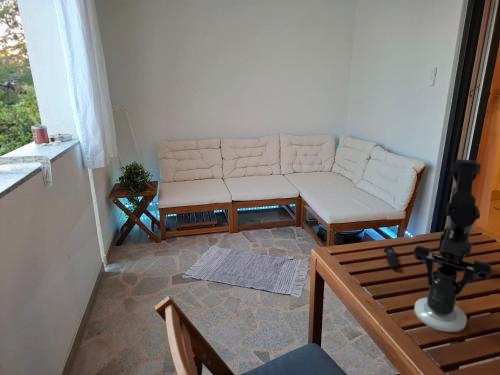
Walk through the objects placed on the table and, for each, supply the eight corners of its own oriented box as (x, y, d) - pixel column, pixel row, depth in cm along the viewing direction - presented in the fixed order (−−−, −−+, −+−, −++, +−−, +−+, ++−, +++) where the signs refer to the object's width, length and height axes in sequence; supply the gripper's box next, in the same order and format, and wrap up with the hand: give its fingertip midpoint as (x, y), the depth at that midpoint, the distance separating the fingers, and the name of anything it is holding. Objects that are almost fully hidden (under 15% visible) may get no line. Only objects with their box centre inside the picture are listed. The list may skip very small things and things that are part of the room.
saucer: (445, 299, 100) (446, 295, 100) (477, 329, 88) (478, 324, 87) (405, 303, 99) (406, 298, 99) (431, 334, 87) (432, 329, 86)
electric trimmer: (389, 272, 117) (390, 264, 116) (383, 251, 131) (384, 244, 130) (400, 273, 116) (401, 265, 115) (393, 252, 130) (394, 245, 129)
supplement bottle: (459, 314, 90) (467, 277, 87) (436, 316, 90) (444, 279, 86) (441, 298, 97) (449, 263, 93) (421, 300, 96) (427, 265, 92)
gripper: (418, 220, 94) (403, 270, 90) (498, 237, 83) (485, 295, 78) (422, 235, 103) (408, 281, 98) (495, 252, 91) (483, 305, 86)
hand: (443, 290), depth 90 cm, fingers closed on supplement bottle, 7 cm apart
